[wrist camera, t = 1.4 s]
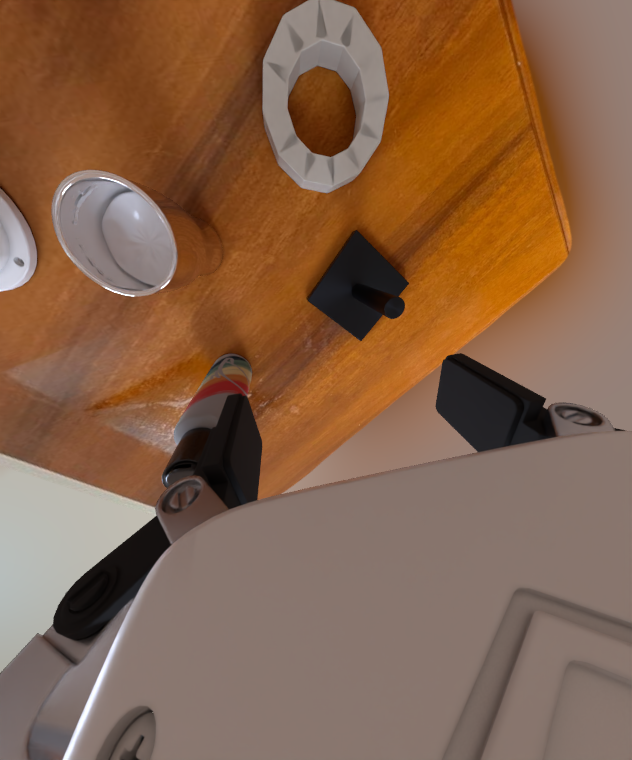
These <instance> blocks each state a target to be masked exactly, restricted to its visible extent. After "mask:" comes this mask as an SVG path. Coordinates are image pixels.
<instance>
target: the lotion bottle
mask: <svg viewBox="0 0 632 760" xmlns="http://www.w3.org/2000/svg"><path fill="white" fill-rule="evenodd" d="M251 377H252V369H251V366H250V364H249V362H248V361H247V360H246V359H245V358H243V357H242V356H239V355H236V354H226V355H223V356H221V357H220V358H218V359H217V360H216V361H215V363H214V364H213V366H212V367H211V369H210V371H209V372H208V374H207V376H206V377H205V379H204V380H203V382H202V384H201V385H200V387H199V389H198V390H197V392H196V394H195V395H194V397H193V398H192V400H191V402H190V403H189V405H188V407H187V408H186V410H185V411H184V413H183V415H182V416H181V418H180V420H179V421H178V423H177V425H176V427H175V430H174V440H175V442H176V444H177V447H176V449H175V451H174V453H173V455H172V457H171V459H170V460H169V462H168V464H167V466H166V468H165V470H164V472H163V475H162V482H163V484H164V486H165V487H166V488H168V487H169V486H171V485H172V484H173V483H175V482H176V481H178V480H180V479H182V478H185V477H187V476H193V473H194V471H195V468H196V466H197V463H198V461H199V458H200V456H201V453H202V451H203V448H204V446H205V443H206V441H207V438H208V436H209V433H210V431H211V429H212V428H213V427H216V425H217V423H218V420H219V417H220V415H221V412H222V409H223V407H224V404H225V401H226V399H227V396H228V395H233V394H239V393H241V394H242V395H243V396H245V395H246V396H247V395H248V391H249V386H250V382H251Z"/></svg>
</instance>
